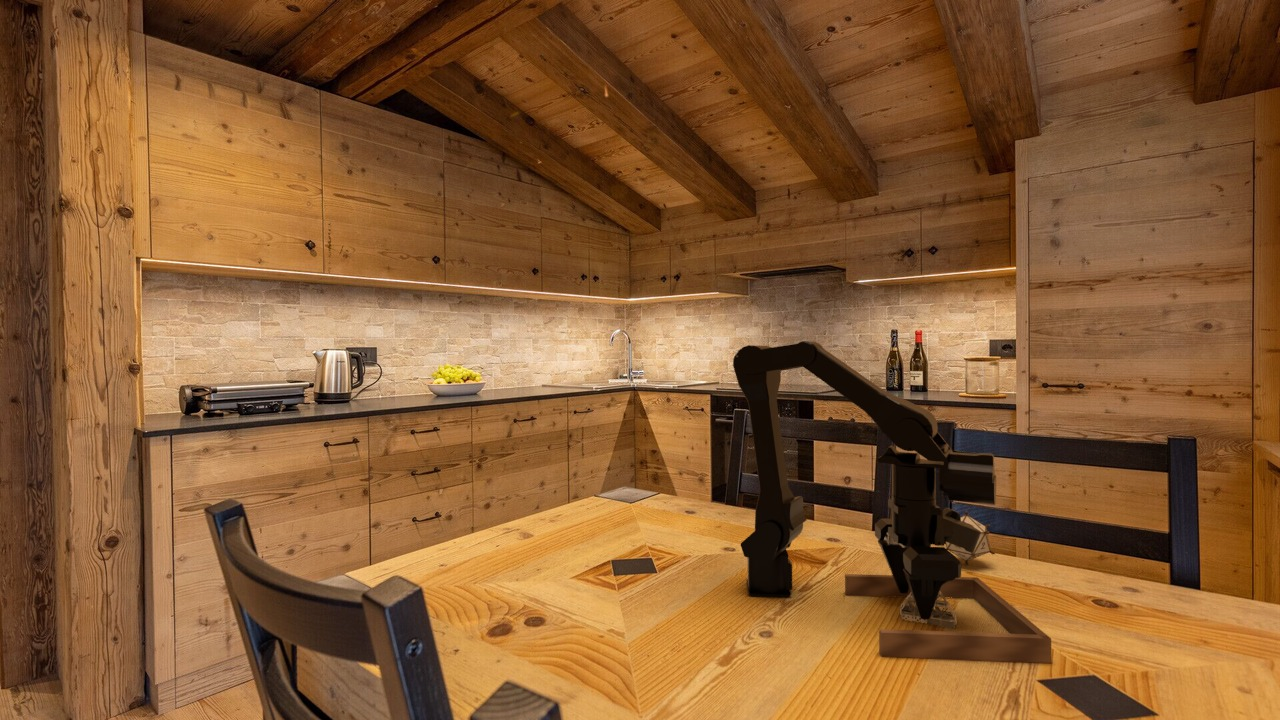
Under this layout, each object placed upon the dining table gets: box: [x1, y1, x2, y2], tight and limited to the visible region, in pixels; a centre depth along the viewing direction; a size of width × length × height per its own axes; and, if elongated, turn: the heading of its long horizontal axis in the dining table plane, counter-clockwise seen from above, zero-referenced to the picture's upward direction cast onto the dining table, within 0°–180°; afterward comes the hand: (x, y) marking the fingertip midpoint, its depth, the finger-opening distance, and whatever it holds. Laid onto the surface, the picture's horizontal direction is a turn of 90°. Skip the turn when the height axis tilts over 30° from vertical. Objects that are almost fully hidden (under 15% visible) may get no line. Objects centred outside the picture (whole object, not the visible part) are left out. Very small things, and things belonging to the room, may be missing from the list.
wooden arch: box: [844, 573, 1052, 664], centre depth 88 cm, size 20×21×3 cm
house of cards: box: [899, 591, 958, 630], centre depth 91 cm, size 9×9×8 cm
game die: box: [944, 509, 996, 566], centre depth 111 cm, size 9×8×10 cm
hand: (913, 605), depth 90 cm, fingers open, 9 cm apart
